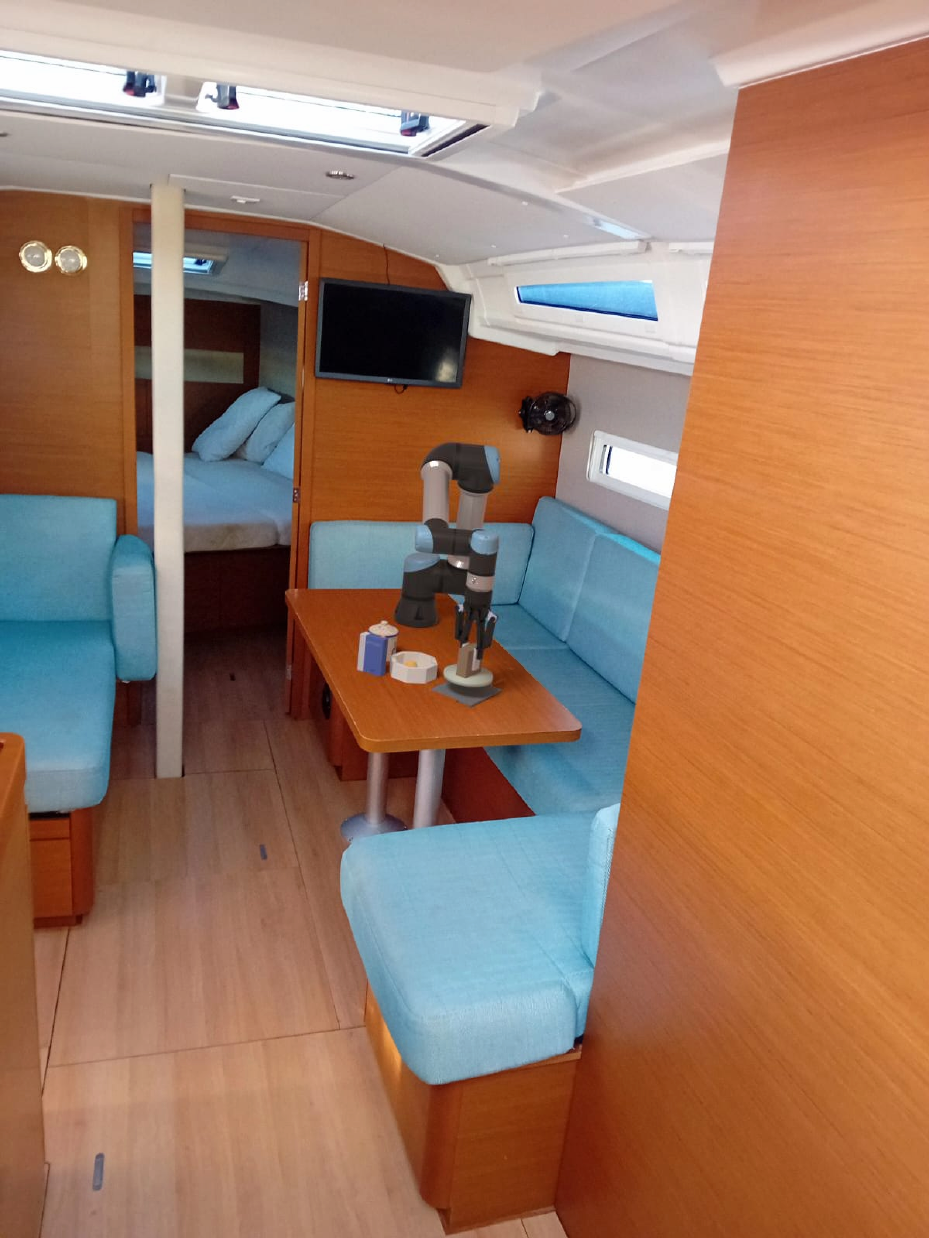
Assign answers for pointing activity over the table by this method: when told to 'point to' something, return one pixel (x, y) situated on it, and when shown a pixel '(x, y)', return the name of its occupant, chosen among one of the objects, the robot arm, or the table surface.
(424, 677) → the bowl
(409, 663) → the clementine
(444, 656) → the table surface
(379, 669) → the walkman
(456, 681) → the lid
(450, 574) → the robot arm
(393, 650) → the teacup with lid
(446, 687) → the mat
